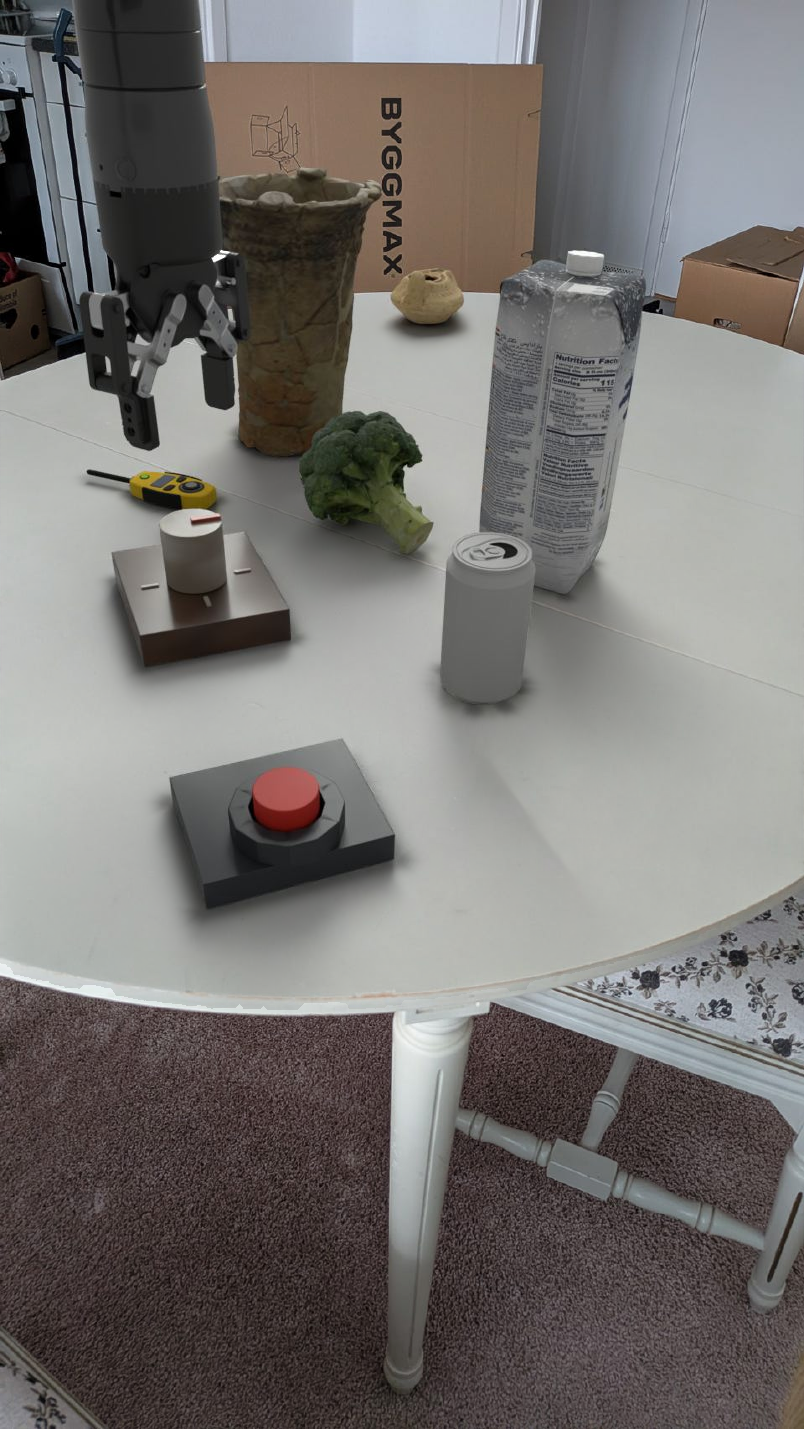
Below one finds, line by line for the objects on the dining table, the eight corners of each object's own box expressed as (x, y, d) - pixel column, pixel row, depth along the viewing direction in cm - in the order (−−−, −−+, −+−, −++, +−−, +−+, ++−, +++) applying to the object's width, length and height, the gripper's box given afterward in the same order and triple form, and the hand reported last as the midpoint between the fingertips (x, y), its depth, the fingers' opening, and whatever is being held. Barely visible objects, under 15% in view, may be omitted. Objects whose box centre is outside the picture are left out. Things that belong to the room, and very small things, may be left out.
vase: (186, 433, 115) (159, 172, 98) (302, 394, 126) (296, 154, 109) (292, 482, 105) (282, 202, 89) (408, 435, 116) (418, 179, 100)
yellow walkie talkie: (198, 498, 98) (70, 469, 102) (199, 516, 99) (73, 487, 103) (223, 479, 101) (98, 452, 105) (224, 497, 102) (101, 469, 107)
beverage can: (535, 700, 76) (554, 563, 69) (459, 718, 74) (470, 578, 67) (498, 656, 81) (513, 522, 74) (426, 671, 79) (433, 535, 72)
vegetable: (350, 567, 87) (254, 447, 91) (385, 601, 100) (300, 494, 103) (457, 477, 86) (356, 358, 90) (480, 522, 98) (390, 416, 102)
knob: (173, 598, 81) (165, 537, 77) (161, 569, 84) (153, 510, 81) (233, 588, 82) (228, 528, 79) (219, 559, 86) (213, 501, 83)
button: (263, 839, 59) (262, 817, 58) (246, 796, 62) (244, 774, 61) (328, 823, 60) (327, 801, 59) (308, 781, 63) (307, 760, 62)
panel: (144, 667, 78) (139, 634, 76) (116, 581, 89) (110, 550, 87) (291, 639, 82) (289, 607, 80) (247, 560, 92) (245, 529, 90)
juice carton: (573, 605, 88) (623, 281, 71) (466, 573, 91) (490, 259, 75) (608, 562, 94) (661, 255, 77) (506, 534, 98) (536, 236, 81)
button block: (208, 915, 59) (201, 868, 56) (172, 801, 66) (165, 756, 64) (397, 864, 63) (398, 818, 60) (343, 762, 70) (342, 717, 68)
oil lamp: (468, 306, 158) (472, 252, 153) (457, 335, 146) (461, 278, 141) (400, 301, 159) (402, 247, 154) (384, 329, 147) (385, 272, 142)
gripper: (180, 148, 67) (203, 386, 77) (22, 181, 57) (72, 449, 67) (272, 161, 64) (284, 405, 74) (124, 198, 55) (160, 475, 65)
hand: (183, 426), depth 71 cm, fingers open, 8 cm apart
